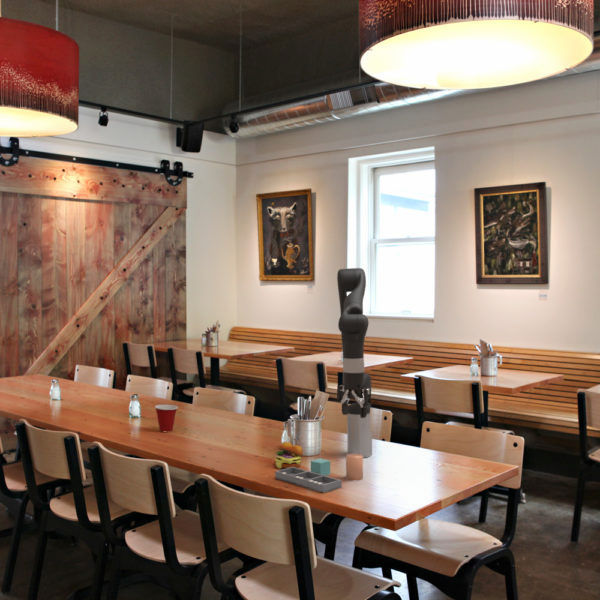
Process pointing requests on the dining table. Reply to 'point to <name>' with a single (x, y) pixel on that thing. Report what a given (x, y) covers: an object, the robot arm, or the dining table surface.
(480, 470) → the dining table surface
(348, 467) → the terracotta jar
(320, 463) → the teal block
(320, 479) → the slot tray
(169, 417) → the plastic cup
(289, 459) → the cheeseburger
